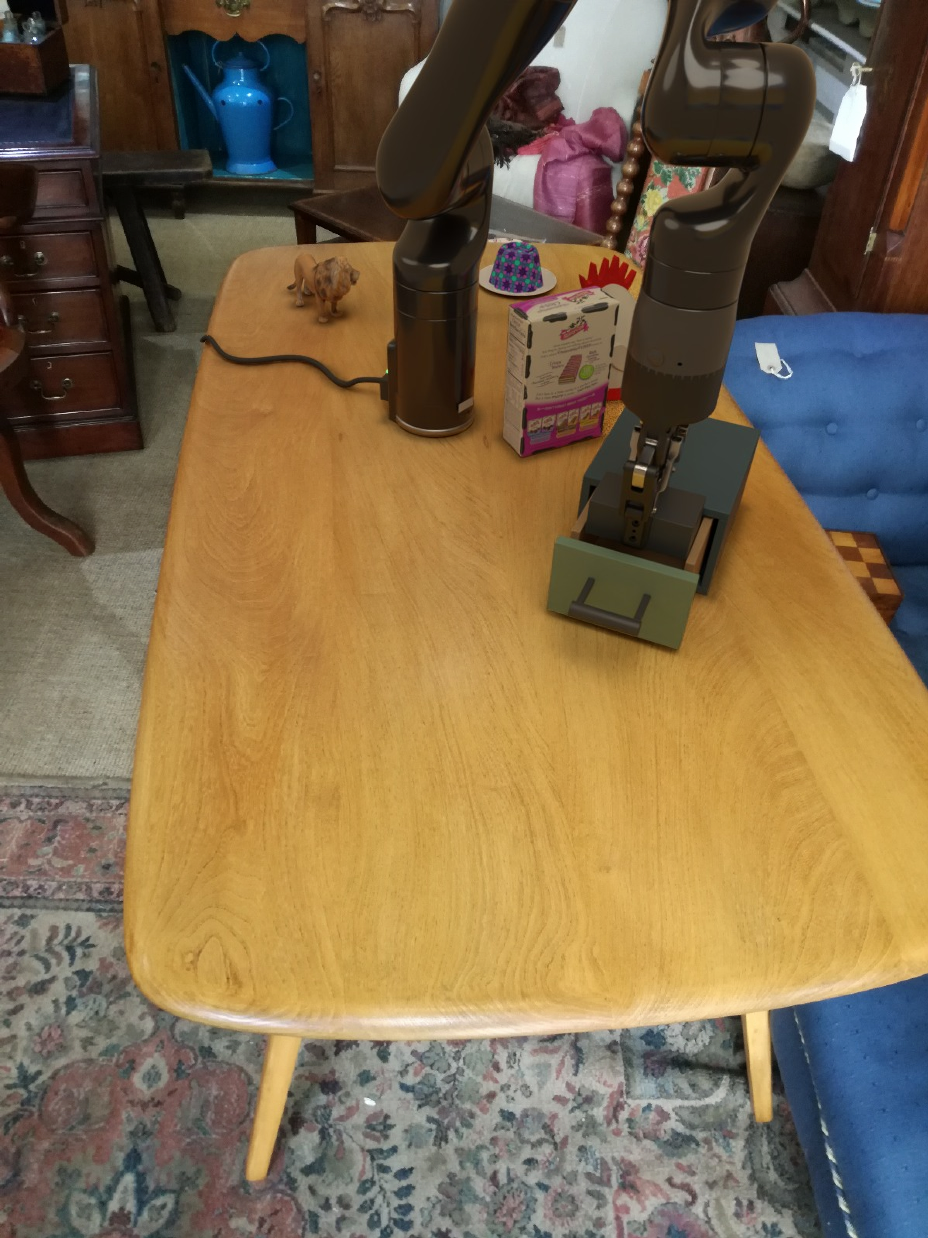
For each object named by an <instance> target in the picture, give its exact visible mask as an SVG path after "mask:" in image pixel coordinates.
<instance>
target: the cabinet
mask: <svg viewBox="0 0 928 1238" xmlns="http://www.w3.org/2000/svg"><path fill="white" fill-rule="evenodd" d="M635 426H640V419H639V418H638V417H637V416H636V415H635V414H634V413H632V412H631V411H629V410H628V409H627V408H626V406H625V405H624V408H623V410H622V411H621V412H620V415H619V416H618V418H617V419H616V421H615V423H614V424H613V425H612V428H611V429H610V431H609V433H608V434H607V436H606V437H605V439H604V441H603V443H602V444H601V446H600V447H599V449H598V450H597V452H596V454H595V456H594V457H593V459H592V461H591V462H590V464H589V466H588V467H587V468H586V471H585V472H584V474H583V475H582V482H581V489H580V495H579V502H578V509H577V516H576V521H577V520H578V518H579V516H580V515H581V513H582V511H583V509H584V508H585V506H586V504H587V503H588V501H589V499H590V497H591V496H592V494H593V492H594V490H595V489H596V487H598V485H599V483H600V481H601V479H602V478H603V476H604V474H605V472H606V471H610V472H614V473H618V474H622V475H623V472H624V470H623V466H624V464H625V463H626V461H627V460H628V459H629V458H630V454H631V447H630V441H631V437H632V433H633V430H634V427H635ZM761 433H762V429H759V428H755V427H752V426H751V427H750V426H746V425H742V424H739V423H734V422H730V421H726V420H721V419H718V418H713V417H710V416H709V417H707V418H706V419H704V420H702V421H700V422H697V423H694V424H691V426H690V431H689V433H688V436H687V439H686V441H685V444H684V450H683V453H682V456H681V458H680V461H679V462H678V463H676V464H675V467H676V470H675V473H673V475H672V477H671V476H670V482H669V486H668V487H672V488H676V489H680V490H684V491H688V492H692V493H696V494H699V495H703V496H706V501H705V505H704V509H703V513H702V515H706V516H709V517H713V518H717V520H716V523H715V527H714V531H713V534H712V538H711V542H710V545H709V549H708V552H707V555H706V558H705V560H704V563H703V565H702V568H701V571H700V573H699V575H700V576H699V580H698V584H697V587H696V591H695V593H697V594H701V595H704V596H708V594H709V590H710V589H711V586H712V582H713V580H714V577H715V574H716V572H717V569H718V566H719V564H720V561H721V559H722V556H723V553H724V551H725V547H726V545H727V542H728V540H729V536H730V534H731V531H732V528H733V526H734V524H735V520H736V517H737V515H738V512H739V510H740V506H741V502H742V499H743V496H744V493H745V488H746V486H747V482H748V479H749V475H750V472H751V468H752V465H753V461H754V457H755V454H756V451H757V447H758V443H759V441H760V436H761Z"/></svg>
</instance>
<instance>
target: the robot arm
mask: <svg viewBox="0 0 928 1238" xmlns="http://www.w3.org/2000/svg"><path fill="white" fill-rule="evenodd" d="M578 1H579V0H452V1H451V3H450V5H449V7H448V10H447V12H446V14H445V17H444V19H443V21H442V24H441V26H440V28H439V31H438V34H437V36H436V38H435V41H434V43H433V45H432V47H431V49H430V51H429V53H428V55H427V58H426V60H425V61H424V63H423V65H422V67H421V69H420V71H419V72H418V74H417V76H416V78H415V79H414V81H413V83H412V85H411V86H410V87H409V90H408V91H407V93H406V95H405V96H404V98H403V99H402V101H401V103H400V105H399V106H398V108H397V110H396V112H395V113H394V114H393V116H392V118H391V120H390V121H389V123H388V125H387V126H386V128H385V130H384V132H383V133H382V136H381V138H380V140H379V143H378V147H377V149H376V155H375V156H376V157H375V167H374V168H375V169H374V171H375V179H376V184H377V189H378V191H379V194H380V197H381V198H382V200H383V202H384V204H385V205H386V206H387V208H388V209H389V210H390V211H391V212H393V213H394V214H395V215H396V216H398V217H400V218H403V219H405V220H407V222H406V225H405V227H404V229H403V230H402V233H401V235H400V236H399V238H398V239H397V241H396V243H395V245H394V247H393V250H392V255H391V256H392V257H391V259H392V260H391V261H392V262H391V263H392V264H391V265H392V266H391V267H392V268H391V269H392V303H393V304H392V305H393V306H392V309H393V338H392V339H391V340H390V341H389V342H388V343H387V344H386V363H387V364H386V365H387V366H386V368H387V369H386V372H385V373H384V374H383V375H382V376H381V377H380V376H378V377H377V376H357V377H354V378H353V379H350V380H347V381H346V380H344V379H343V380H342V379H340V378H338V377H336V376H335V375H334V373H333V372H331V370H329V369H328V368H327V367H326V366H325V365H324V364H323V363H322V362H321V361H319V360H317V359H315V358H313V357H310V356H305V355H299V354H278V355H276V354H275V355H267V356H257V357H243V356H242V357H240V356H235V355H232V354H229V353H227V352H226V351H224V350H223V348H221V347H220V345H219V343H218V342H217V340H216V339H215V338H214V337H213V336H212V335H210V334H204V335H203V336H202V337H200V339H199V342H200V343H206V342H209V343H210V345H211V346H212V348H213V349H214V350H215V352H216V353H217V354H218V355H219V356H221V357H222V358H223V359H225V360H227V361H229V362H231V363H237V364H244V365H245V364H251V365H252V364H264V363H273V362H274V363H275V362H284V361H285V362H286V361H295V362H303V363H307V364H310V365H312V366H315V367H316V368H318V369H319V370H320V371H321V372H322V373H323V374H324V375H325V376H326V377H327V378H328V379H329V380H330V381H331V382H333V383H335V384H336V385H337V386H340V387H343V388H350V387H353V386H355V385H358V384H364V383H365V384H366V383H367V384H369V383H370V384H379V397H380V401H384V402H388V403H387V404H388V405H387V406H388V419H389V420H390V421H394V422H396V423H397V424H398V426H399V427H400V428H401V429H403V430H405V431H406V432H409V433H411V434H413V435H418V436H421V437H429V438H441V437H449V436H453V435H457V434H459V433H462V432H463V431H465V430H467V429H468V428H469V427H470V426H471V425H472V424H473V422H474V420H475V408H474V407H475V386H476V385H475V383H476V382H475V381H476V363H477V362H476V360H477V338H478V337H477V334H478V315H479V314H478V313H479V292H480V291H479V289H480V287H479V286H480V284H479V271H480V270H481V268H480V267H481V261H482V258H483V256H484V254H485V251H486V248H487V244H488V240H489V234H490V223H491V215H492V202H493V192H494V191H493V190H494V179H495V178H494V177H495V176H494V174H495V155H494V148H493V147H494V146H493V141H492V138H491V135H490V132H489V130H488V127H487V125H486V124H487V121H488V120H489V118H490V116H491V114H492V113H493V111H494V110H495V108H496V107H497V106H498V103H499V102H500V101H501V100H502V98H503V97H504V96H505V95H506V93H507V92H508V91H509V89H510V88H511V87H512V86H513V85H514V84H515V82H516V81H517V80H518V79H519V78H520V77H521V75H522V74H523V73H524V72H525V71H526V70H527V69H528V68H529V66H530V65H531V64H532V63H533V61H535V59H536V58H537V57H538V56H539V55H540V53H542V51H543V50H544V49H545V48H546V47H547V45H548V44H549V42H550V41H551V40H552V39H553V38H554V36H555V35H556V34H557V32H558V31H559V30H560V28H562V26H563V25H564V23H565V21H566V20H567V19H568V17H569V16H570V14H571V13H572V12H573V10H574V8H575V6H576V5H577V2H578ZM778 3H779V0H668V3H667V9H666V15H665V20H664V25H663V30H662V34H661V37H660V41H659V44H658V49H657V52H656V54H655V58H654V61H653V65H652V68H651V71H650V74H649V77H648V81H647V83H646V87H645V91H644V95H643V99H642V103H641V109H640V130H641V135H642V140H643V142H644V144H645V146H646V148H647V150H648V151H649V153H650V154H651V156H652V157H653V158H654V159H655V160H656V161H657V162H658V163H660V164H662V165H664V166H669V167H672V168H673V167H674V168H708V169H729V170H728V171H727V173H726V174H725V175H724V176H723V178H722V179H721V180H720V181H719V182H718V183H716V184H715V185H714V186H712V187H709V188H706V189H704V190H701V191H697V192H693V193H689V194H685V195H684V194H683V195H682V196H681V195H680V196H678V197H673V198H671V199H669V200H666V201H665V202H663V203H662V204H661V205H660V206H659V207H658V208H657V209H656V211H655V212H654V215H653V217H652V221H651V224H650V228H649V233H648V239H647V246H646V252H645V257H644V262H643V263H644V264H643V270H642V276H641V284H640V287H639V292H638V295H637V297H636V298H637V299H636V304H635V308H634V311H633V316H632V322H631V328H630V334H629V341H628V347H627V353H626V359H625V366H624V372H623V378H622V384H621V390H620V396H621V399H620V400H621V402H622V404H623V405H624V407H625V406H626V408H627V409H628V410H629V411H631V412H632V413H634V414H635V415H636V416H637V417H638V418H639V419H640V426H635V427H634V430H633V433H632V437H631V441H630V447H631V454H630V458H629V459H628V460H627V461H626V463H625V464H624V466H623V470H624V472H623V481H622V490H621V498H620V506H619V509H618V511H619V515H620V516H624V517H625V519H624V524H623V530H622V535H621V543H622V544H623V545H624V546H628V547H631V548H635V549H639V550H643V549H645V547H646V545H647V543H648V538H649V533H650V529H651V524H652V519H653V515H654V514H655V513H656V511H657V508H656V505H657V502H658V498H659V494H660V492H662V491H664V490H665V489H666V487H667V486H669V482H670V476H671V477H672V475H673V473H675V470H676V467H675V464H676V463H678V462H679V461H680V458H681V456H682V453H683V450H684V444H685V441H686V439H687V436H688V433H689V431H690V426H691V424H694V423H697V422H700V421H702V420H704V419H706V418H707V417H709V418H710V416H711V415H712V414H713V413H714V412H715V410H716V408H717V405H718V400H719V396H720V392H721V388H722V384H723V380H724V376H725V372H726V368H727V363H728V358H729V355H730V350H731V346H732V343H733V339H734V335H735V329H736V325H737V315H738V305H739V299H740V293H741V289H742V284H743V281H744V277H745V273H746V268H747V264H748V260H749V257H750V253H751V249H752V245H753V242H754V240H755V237H756V234H757V233H758V230H759V228H760V226H761V223H762V221H763V219H764V217H765V214H766V213H767V210H768V209H769V207H770V205H771V203H772V201H773V199H774V197H775V195H776V193H777V191H778V189H779V187H780V185H781V183H782V182H783V180H784V178H785V177H786V174H787V173H788V171H789V169H790V167H791V166H792V164H793V162H794V160H795V159H796V156H797V155H798V153H799V151H800V149H801V146H802V145H803V142H804V141H805V139H806V136H807V133H808V131H809V129H810V126H811V123H812V121H813V117H814V112H815V108H816V104H817V97H818V96H817V95H818V94H817V93H818V92H817V91H818V89H817V75H816V71H815V67H814V65H813V63H812V61H811V59H810V57H809V55H808V54H807V53H806V52H805V50H803V49H802V48H801V47H799V46H797V45H794V44H790V43H784V42H760V41H759V42H752V41H751V42H750V41H726V40H725V41H723V40H709V39H711V38H715V37H719V36H722V35H727V34H731V33H734V32H735V33H736V32H738V31H741V30H744V29H746V28H749V27H752V26H753V25H755V24H756V23H759V22H760V21H761V20H764V18H766V17H767V16H768V15H769V14H770V13H771V12H772V11H773V10H774V9H775V8H776V6H777V4H778ZM207 335H208V336H207Z"/></svg>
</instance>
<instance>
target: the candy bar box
mask: <svg viewBox="0 0 928 1238" xmlns="http://www.w3.org/2000/svg"><path fill="white" fill-rule="evenodd" d="M619 304H620V302H619V301H618V300H616V299H615V298H613V297H612V296H610V295H609V294H608V293H606V292H605V291H602V289H601V288H599V287H597V286H592V287H588V288H583V289H582V288H578V289H573V290H569V291H565V292H564V291H563V292H559V293H556V294H551V295H545V296H541V297H536V298H531V299H528V300H523V301H518V302H514V303H509V304H508V315H507V316H508V319H507V339H506V341H507V342H506V357H505V380H504V398H503V416H502V418H503V420H502V439H503V440H504V441H505V443H506V444H507V445H509V446H510V447H511V448H512V449H513V451H514V452H516V454H517V455H519V456H520V458H526V457H530V456H533V455H537V454H540V453H544V452H548V451H551V450H554V449H559V448H562V447H565V446H569V445H573V444H577V443H580V442H584V441H587V440H590V439H593V438H597V437H601V436H603V429H604V424H605V423H604V422H605V414H606V409H607V394H608V385H609V377H610V369H611V363H612V356H613V349H614V342H615V333H616V326H617V319H618V311H619Z"/></svg>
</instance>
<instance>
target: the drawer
mask: <svg viewBox="0 0 928 1238" xmlns="http://www.w3.org/2000/svg"><path fill="white" fill-rule="evenodd" d="M596 488H597V487H596ZM595 490H596V489H595ZM595 490H594V492H595ZM594 492H593V494H594ZM593 494H592V495H593ZM591 497H592V496H591ZM591 497H590V499H591ZM590 499H589V501H590ZM589 501H588V503H587V504H586V506H585V508H584V509H583V511H582V513H581V515H580V516H579V518H578V520H577V519H576V522H575V523H574V525H573V527H572V529H571V530H570V537H568V536H565V535H561V534H559V535H558V536H557V537H556V540H555V541H554V546H553V554H552V559H551V569H550V577H549V585H548V593H547V601H546V610H547V611H551V612H555V613H558V614H561V615H565V616H567V617H569V618H572V619H576V620H579V621H583V622H585V623H589V624H592V625H595V626H598V627H601V628H605V629H608V630H611V631H615V632H618V633H621V634H624V635H628V636H631V637H634V638H639V639H642V640H646V641H648V642H652V643H655V644H658V645H662V646H665V647H668V648H671V649H675V650H678V651H679V650H680V648H681V645H682V642H683V639H684V636H685V635H684V634H685V632H686V628H687V624H688V620H689V618H690V617H689V616H690V613H691V610H692V606H693V603H694V598H695V594H696V592H695V591H696V587H697V584H698V580H699V576H700V575H699V573H700V571H701V568H702V565H703V563H704V560H705V558H706V555H707V552H708V549H709V545H710V542H711V538H712V534H713V531H714V527H715V523H716V520H717V518H713V517H709V516H706V515H702V517H701V521H700V525H699V528H698V531H697V533H696V536H695V538H694V541H693V543H692V546H691V548H690V551H689V553H688V556H687V558H686V560H682V559H678V558H675V557H671V556H668V555H664V554H660V553H657V552H653V551H650V550H646V549H643V550H639V549H635V548H631V547H628V546H624V545H623V544H622V543H621V542H617V541H614V540H610V539H606V538H603V537H599V536H596V535H592V534H588V533H585V528H586V521H587V514H588V508H589Z"/></svg>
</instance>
